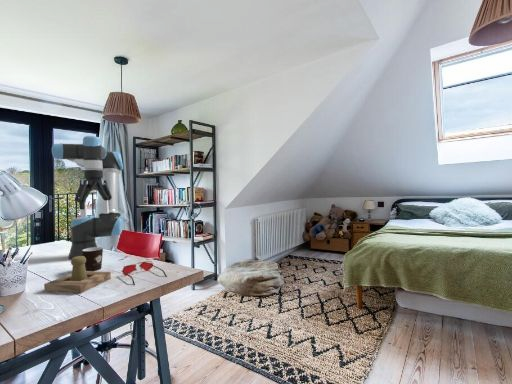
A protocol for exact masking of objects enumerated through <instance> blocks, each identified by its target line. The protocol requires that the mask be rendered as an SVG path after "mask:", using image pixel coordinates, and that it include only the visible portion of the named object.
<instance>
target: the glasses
mask: <svg viewBox="0 0 512 384" xmlns="http://www.w3.org/2000/svg"><path fill="white" fill-rule="evenodd" d="M138 264H139V265H138ZM137 265H138V266H139V267H140V270H144V271H145V272H149V270H151V269H152V268H153V267H154V268H156V269H158V270H160V271H162V272H163V275H164V277H165V278H168V275H167V274H166V272H165V271H164V269H162V268H160V267H158V266H156V265H154V263H153V262H152V261H151V260H147V261H142V262H138V263H132V264H128V265H124V266H123V268H122V270H121V272H122V275H124V277H125V276H126V277H129V278H130V279H131V281H132V284H133V286H135V285H136V284H135V281H134V278H133V277H132V276H131V275H130V274H131V273H134V272H136V271H138V270H137V269H138V268H137Z"/></svg>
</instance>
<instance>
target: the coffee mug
mask: <svg viewBox="0 0 512 384" xmlns="http://www.w3.org/2000/svg"><path fill="white" fill-rule="evenodd" d="M103 251H104V247H102V246H97V247H93V248H87V249H84V250H82V252H83V255H79V256H84V257H85V258H86V263H85V268H86V271H99V270H101V269H102V264H103V256H104V255H103V254H104V253H103Z"/></svg>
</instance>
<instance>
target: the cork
mask: <svg viewBox="0 0 512 384" xmlns="http://www.w3.org/2000/svg"><path fill="white" fill-rule="evenodd" d="M70 263H71V266H72V268H71V269H72V270H71V273H72V277H71V281H82V280H84V279H86V278H87V273H86V268H85V263H86V258H85V257H84V256H77V257H73V258H72V259H70Z"/></svg>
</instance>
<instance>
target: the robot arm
mask: <svg viewBox="0 0 512 384" xmlns="http://www.w3.org/2000/svg"><path fill="white" fill-rule="evenodd" d="M102 142H103V141H102V138H101V137H98V136H91V135H88V136H87V135H86V136H83V138H82V143H62V142H61V143H53V144H52V147H51V154H52V157H53V158H54V160H66V161H67V160H68V161H70V162H72V163H75V164H76V165H77V166H78V167H81V168H83V169H84V171H83V173H84V174H83V175H84V176H83V177H84V179H80V181H79V186H78V190H77V192H76V194H75V196H74V201H75V202H76V203H78V206H79V207H78V208H79V211H80V217H76V218H72V220H71V222H70V232H71V234H70V235H71V246H70V251H69V253H68V259H69V260H71V259H72V258H73V257H77V256H79V255H83V252H82V250H84V249H87V248H93V247H98V244H97V242H96V238H103V237H115V236H120V235H121V234H122V232H123V228H124V217H123V215H121V212H119V174H121V171H122V170H124V165H123V160H122V154H121V152H119V151H112V150H111V151H106V149H105V147H104V146H103V143H102ZM93 190H94V191H95V190H96V191H97V192H98V194H99V195H100V196H101V212H100V213H99V214H98V217H95V215H94V214H93V215H88V206H87V205H88V203H87V201H86V200H87V198H89V196H90V193H91V192H92V191H93Z"/></svg>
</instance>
